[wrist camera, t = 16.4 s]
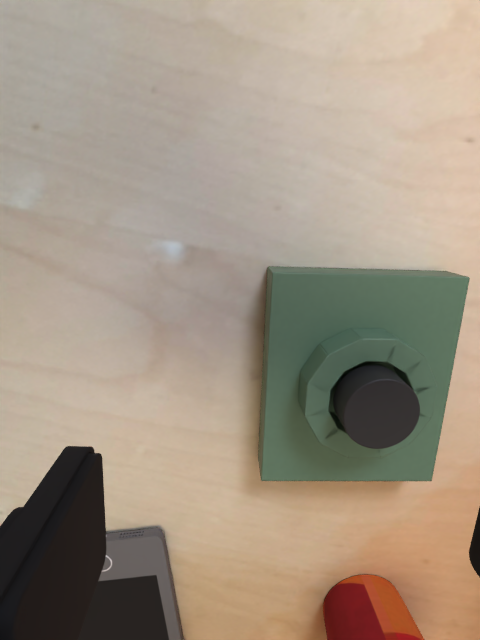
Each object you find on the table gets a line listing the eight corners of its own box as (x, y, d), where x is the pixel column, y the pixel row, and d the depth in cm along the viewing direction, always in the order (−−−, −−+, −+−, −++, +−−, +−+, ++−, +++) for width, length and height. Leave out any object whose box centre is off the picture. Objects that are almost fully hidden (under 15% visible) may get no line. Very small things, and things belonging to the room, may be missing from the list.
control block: (267, 266, 21) (276, 277, 17) (446, 271, 22) (494, 283, 18) (258, 458, 24) (264, 503, 20) (414, 458, 25) (449, 503, 21)
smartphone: (194, 690, 29) (193, 701, 28) (84, 702, 29) (81, 714, 28) (164, 526, 25) (162, 535, 25) (37, 540, 25) (32, 549, 24)
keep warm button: (336, 363, 19) (347, 378, 17) (408, 364, 19) (426, 379, 17) (329, 429, 20) (339, 449, 18) (398, 430, 20) (414, 449, 18)
